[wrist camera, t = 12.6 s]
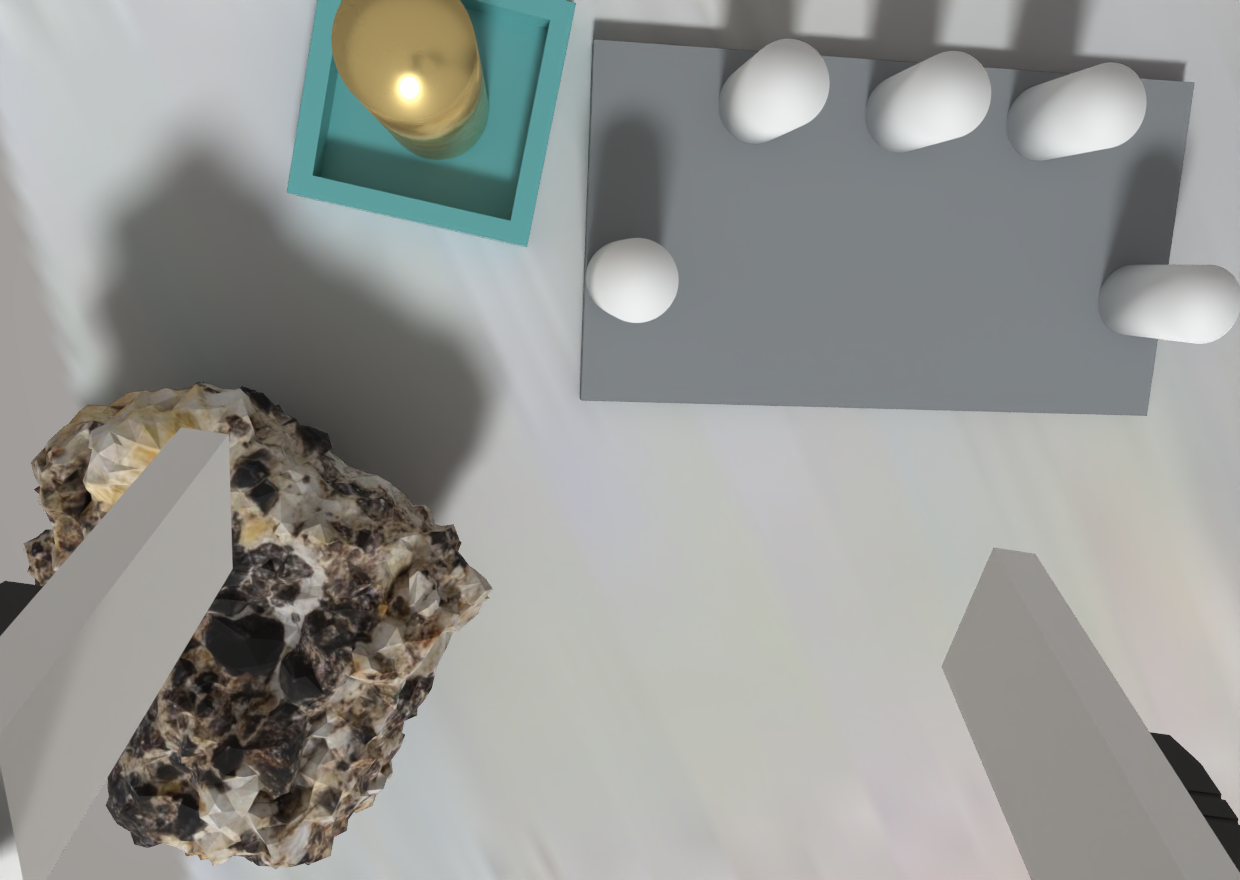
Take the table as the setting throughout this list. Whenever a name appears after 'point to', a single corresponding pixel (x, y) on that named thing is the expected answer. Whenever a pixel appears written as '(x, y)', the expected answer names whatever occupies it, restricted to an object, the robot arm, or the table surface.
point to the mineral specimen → (268, 628)
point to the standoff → (414, 71)
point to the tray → (455, 188)
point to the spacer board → (883, 232)
